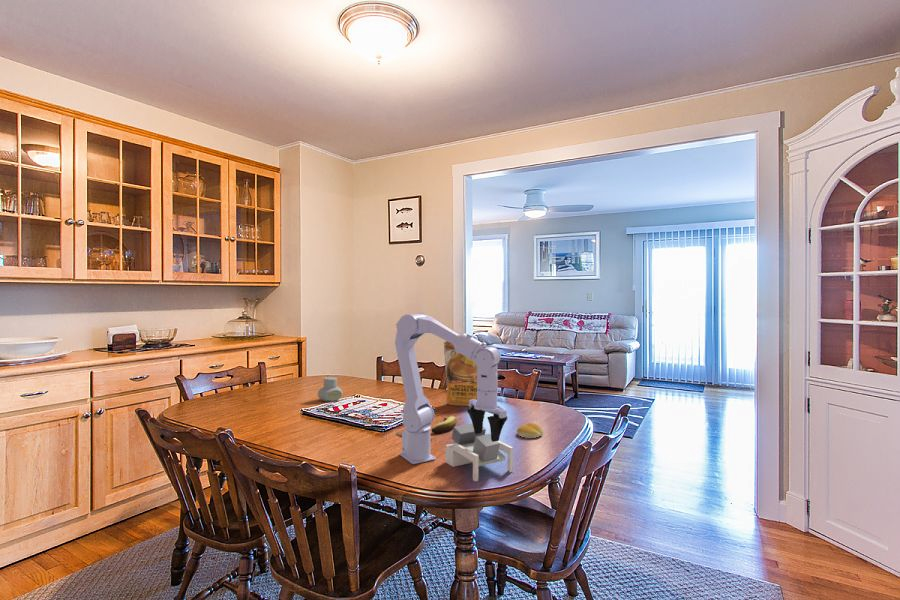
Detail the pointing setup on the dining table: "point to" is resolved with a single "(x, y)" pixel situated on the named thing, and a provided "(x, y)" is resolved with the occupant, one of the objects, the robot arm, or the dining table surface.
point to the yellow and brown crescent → (441, 427)
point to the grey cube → (486, 448)
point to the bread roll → (530, 431)
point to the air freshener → (330, 390)
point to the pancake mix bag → (459, 377)
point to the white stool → (473, 457)
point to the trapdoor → (471, 441)
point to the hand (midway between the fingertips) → (486, 437)
